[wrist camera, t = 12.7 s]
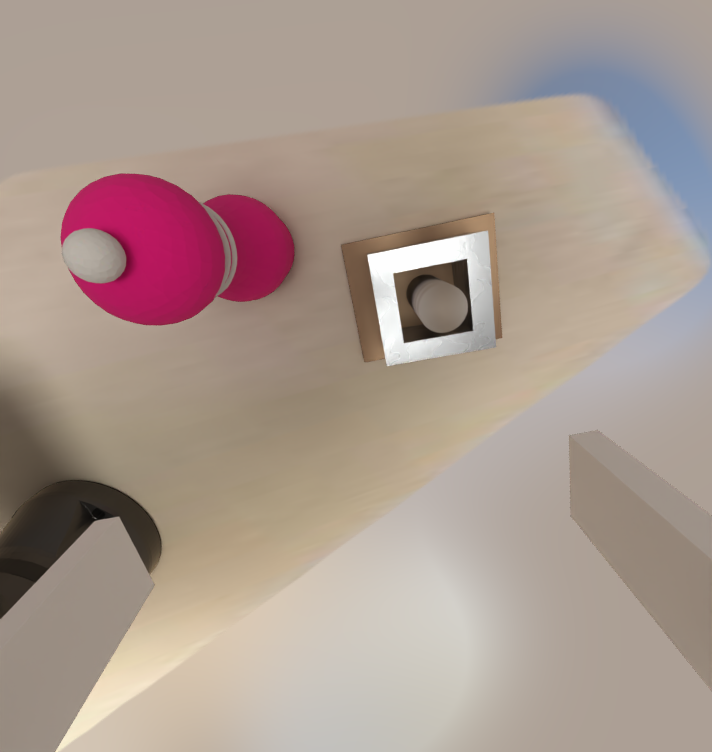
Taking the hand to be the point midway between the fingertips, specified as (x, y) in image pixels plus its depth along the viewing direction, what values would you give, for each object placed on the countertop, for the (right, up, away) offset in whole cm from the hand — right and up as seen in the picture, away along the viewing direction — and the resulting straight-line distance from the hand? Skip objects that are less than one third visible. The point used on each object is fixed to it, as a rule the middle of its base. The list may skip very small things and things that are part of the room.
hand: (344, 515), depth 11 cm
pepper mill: (-8, +15, +20) cm, 26 cm away
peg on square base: (+6, +11, +20) cm, 24 cm away
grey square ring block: (+6, +11, +19) cm, 23 cm away
